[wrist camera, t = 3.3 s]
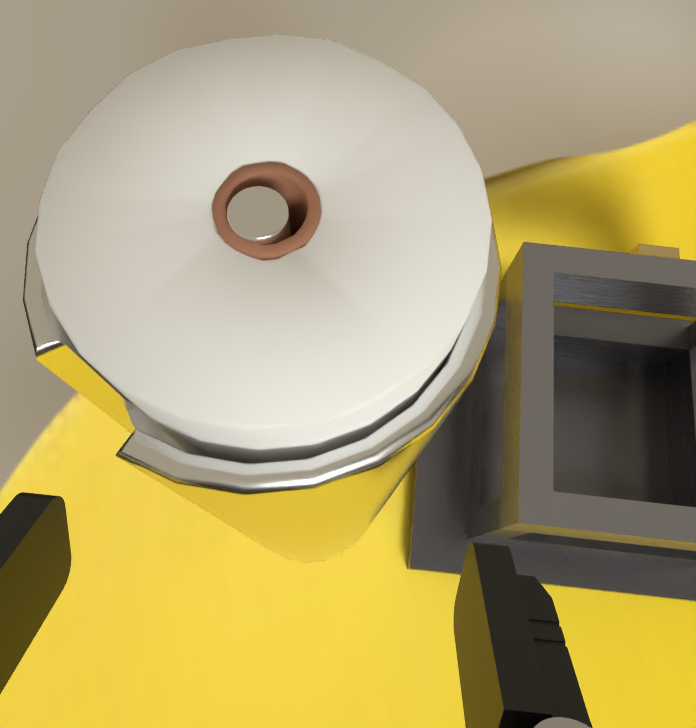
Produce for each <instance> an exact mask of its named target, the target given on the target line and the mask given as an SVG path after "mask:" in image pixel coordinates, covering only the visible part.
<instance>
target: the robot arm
mask: <svg viewBox="0 0 696 728" xmlns="http://www.w3.org/2000/svg"><path fill="white" fill-rule="evenodd" d="M70 567H71V549H70V541H69V533H68V525H67V517H66V508H65V503H64V500H63V498H62V497H60V496H52V495H43V494H34V493H24V492H22V493H19V494H18V495H16V496H15V497H14V498H13V500H12V501H11V502H10V503H9V504H8V506H7V507H6V508H5V509H4V510H3V512H2V513H1V514H0V694H1V692H2V690H3V689H4V687H5V685H6V684H7V682H8V680H9V679H10V677H11V675H12V674H13V672H14V670H15V669H16V667H17V665H18V664H19V662H20V660H21V659H22V657H23V655H24V654H25V652H26V650H27V649H28V647H29V645H30V644H31V642H32V640H33V639H34V637H35V635H36V634H37V632H38V630H39V629H40V627H41V625H42V624H43V622H44V620H45V619H46V617H47V615H48V614H49V612H50V610H51V609H52V607H53V605H54V604H55V602H56V600H57V599H58V597H59V595H60V594H61V592H62V590H63V588H64V586H65V584H66V582H67V579H68V576H69V572H70ZM454 635H455V643H456V651H457V659H458V668H459V676H460V684H461V692H462V700H463V708H464V717H465V725H466V728H593V727H592V725H591V722H590V719H589V716H588V713H587V710H586V707H585V703H584V700H583V697H582V694H581V690H580V687H579V684H578V681H577V677H576V674H575V671H574V668H573V665H572V661H571V658H570V655H569V652H568V648H567V647H566V646H565V639H564V635H563V632H562V629H561V627H559V619H558V616H557V613H556V610H555V606H554V603H553V600H552V598H551V596H550V595H549V594H548V593H547V591H546V590H545V589H544V587H543V586H542V585H541V584H540V582H539V581H538V580H537V579H536V577H535V576H526V575H517V573H516V569H515V565H514V561H513V558H512V554H511V550H510V548H509V547H508V546H503V545H493V544H484V543H475V542H470V543H469V545H468V547H467V551H466V556H465V560H464V564H463V569H462V573H461V577H460V582H459V586H458V591H457V595H456V600H455V607H454Z"/></svg>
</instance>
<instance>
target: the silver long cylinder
mask: <svg viewBox="0 0 696 728" xmlns="http://www.w3.org/2000/svg"><path fill="white" fill-rule="evenodd" d="M500 278H501V262H500V257H499V251H498V246H497V241H496V235H495V230H494V225H493V220H492V214H491V212H490V207H489V202H488V197H487V192H486V187H485V183H484V178H483V173H482V169H481V167H480V166H479V164H478V162H477V160H476V158H475V156H474V154H473V152H472V150H471V148H470V146H469V144H468V142H467V141H466V138H465V137H464V135H463V133H462V131H461V129H460V127H459V125H458V124H457V123H456V122H455V121H454V120H453V119H452V118H451V117H450V116H449V114H448V113H447V112H446V111H445V110H444V109H443V108H442V107H441V106H440V105H439V104H438V102H437V101H436V100H435V99H434V98H433V97H432V96H431V95H430V94H429V93H428V92H427V90H426V89H424V88H423V87H421V86H420V85H418V84H416V83H415V82H413V81H412V80H410V79H408V78H407V77H405V76H403V75H402V74H400V73H399V72H397V71H396V70H394V69H392V68H391V67H389V66H388V65H385V64H384V63H383V62H381V61H378V60H376V59H374V58H372V57H369V56H367V55H365V54H363V53H361V52H358V51H356V50H354V49H352V48H349V47H347V46H345V45H342V44H340V43H338V42H336V41H333V40H325V39H317V38H308V37H300V36H291V35H283V34H280V35H269V36H258V37H247V38H236V39H227V40H222V41H217V42H213V43H208V44H203V45H198V46H194V47H188V48H183V49H178V50H175V51H174V52H171V53H170V54H167V55H166V56H164V57H162V58H160V59H158V60H156V61H154V62H152V63H150V64H148V65H146V66H144V67H142V68H140V69H138V70H136V71H134V72H132V73H130V74H129V75H128V76H126V77H125V78H124V79H123V80H122V81H121V82H120V83H119V84H118V85H117V86H116V87H115V88H114V89H113V90H112V91H110V92H109V93H108V94H107V96H105V97H104V98H103V99H102V100H101V101H100V102H99V103H98V104H97V105H96V106H95V107H94V108H92V109H91V110H90V111H89V113H88V114H87V115H86V116H85V118H84V119H83V120H82V121H81V123H80V124H79V125H78V126H77V128H76V129H75V130H74V131H73V133H72V134H71V135H70V136H69V138H68V139H67V140H66V141H65V143H64V144H63V145H62V146H61V148H60V149H59V150H58V152H57V154H56V157H55V159H54V162H53V165H52V168H51V170H50V173H49V176H48V179H47V181H46V184H45V187H44V189H43V192H42V195H41V198H40V200H39V211H38V216H37V219H36V222H35V224H34V227H33V230H32V232H31V235H30V238H29V240H28V243H27V253H26V266H25V279H24V294H23V302H24V307H25V311H26V316H27V320H28V324H29V329H30V333H31V337H32V341H33V346H34V350H35V354H36V358H37V360H38V361H39V362H41V363H42V364H43V365H44V366H46V367H47V368H48V369H49V370H51V371H52V372H53V373H55V374H56V375H57V376H58V377H60V378H61V379H62V380H64V381H65V382H66V383H67V384H69V385H70V386H71V387H73V388H74V389H75V390H76V391H78V392H79V393H80V394H82V395H83V396H84V397H85V398H87V399H88V400H89V401H91V402H92V403H93V404H94V405H96V406H97V407H98V408H100V409H101V410H102V411H103V412H105V413H106V414H107V415H109V416H110V417H111V418H112V419H114V420H115V421H116V422H118V423H119V424H120V425H121V426H123V427H124V428H125V429H127V430H128V431H129V432H130V433H132V434H131V435H130V436H129V438H128V439H127V440H126V442H125V443H124V444H123V446H122V447H121V448H120V450H119V451H118V452H117V453H116V456H117V457H119V458H120V459H122V460H124V461H125V462H127V463H128V464H130V465H132V466H133V467H135V468H137V469H138V470H140V471H141V472H143V473H145V474H146V475H148V476H150V477H151V478H153V479H155V480H156V481H158V482H159V483H161V484H163V485H164V486H166V487H168V488H169V489H171V490H172V491H174V492H176V493H177V494H179V495H181V496H182V497H184V498H185V499H187V500H189V501H190V502H192V503H194V504H195V505H197V506H199V507H200V508H202V509H203V510H205V511H207V512H208V513H210V514H212V515H213V516H215V517H216V518H218V519H220V520H221V521H223V522H225V523H226V524H228V525H229V526H231V527H233V528H234V529H236V530H238V531H239V532H241V533H243V534H244V535H246V536H247V537H249V538H251V539H252V540H254V541H256V542H257V543H259V544H260V545H262V546H264V547H265V548H267V549H269V550H270V551H272V552H274V553H276V554H278V555H280V556H282V557H284V558H286V559H288V560H294V561H300V562H305V563H307V562H318V561H325V560H328V559H330V558H333V557H335V556H338V555H341V554H342V553H343V552H345V551H346V550H348V549H349V548H350V547H352V546H353V545H354V544H356V542H357V541H358V540H359V539H360V537H361V536H362V535H363V534H364V532H365V531H366V530H367V528H368V527H369V526H370V524H371V523H372V521H373V520H374V519H375V517H376V516H377V514H378V513H379V512H380V510H381V509H382V507H383V506H384V505H385V503H386V502H387V500H388V499H389V498H390V496H391V495H392V493H393V492H394V490H395V489H396V488H397V486H398V485H399V483H400V482H401V481H402V479H403V478H404V476H405V475H406V474H407V472H408V471H409V469H410V468H411V467H412V465H413V464H414V462H415V461H416V460H417V458H418V457H419V455H420V454H421V452H422V451H423V450H424V448H425V447H426V445H427V444H428V443H429V441H430V440H431V438H432V437H433V436H434V434H435V433H436V431H437V430H438V429H439V427H440V426H441V424H442V423H443V422H444V420H445V419H446V417H447V416H448V414H449V413H450V412H451V410H452V409H453V407H454V406H455V405H456V403H457V402H458V400H459V399H460V398H461V396H462V395H463V393H464V392H465V391H466V389H467V388H468V386H469V385H470V383H471V382H472V381H473V379H474V376H475V374H476V372H477V369H478V367H479V364H480V362H481V360H482V357H483V355H484V352H485V350H486V347H487V345H488V343H489V340H490V338H491V335H492V333H493V331H494V328H495V326H496V318H497V308H498V298H499V288H500Z"/></svg>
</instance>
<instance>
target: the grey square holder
mask: <svg viewBox="0 0 696 728" xmlns="http://www.w3.org/2000/svg"><path fill="white" fill-rule="evenodd" d="M554 302H563V303H572V304H581V305H590V306H599V307H609V308H618V309H627V310H636V311H645V312H654V313H663V314H672V315H681V316H690V317H696V261H693V260H684V259H680V255H679V248H673V247H664V246H655V245H645V244H638V246H637V247H636V248H635V249H634V250H633V251H632V252H631V253H630V254H629V253H620V252H611V251H602V250H593V249H584V248H575V247H566V246H557V245H548V244H539V243H529V242H523V244H522V246H521V247H520V249H519V251H518V253H517V254H516V256H515V258H514V260H513V261H512V263H511V265H510V267H509V268H508V270H507V272H506V274H505V275H504V277H503V279H502V281H501V282H500V288H499V298H498V308H497V318H496V326H495V328H494V331H493V333H492V335H491V338H490V340H489V343H488V345H487V347H486V350H485V352H484V355H483V357H482V360H481V362H480V364H479V367H478V369H477V372H476V374H475V376H474V379H473V381H472V382H471V383H470V385H469V386H468V388H467V389H466V391H465V392H464V393H463V395H462V396H461V398H460V399H459V400H458V402H457V403H456V405H455V406H454V407H453V409H452V410H451V412H450V413H449V414H448V416H447V417H446V419H445V420H444V422H443V423H442V424H441V426H440V427H439V429H438V430H437V431H436V433H435V434H434V436H433V437H432V438H431V440H430V441H429V443H428V444H427V445H426V447H425V448H424V450H423V451H422V452H421V454H420V455H419V457H418V458H417V460H416V461H415V469H414V483H413V497H412V510H411V524H410V538H409V551H408V565H407V569H413V570H422V571H430V572H439V573H448V574H457V575H461V573H462V569H463V564H464V560H465V556H466V551H467V547H468V545H469V543H470V542H475V543H484V544H493V545H503V546H508V547H509V548H510V550H511V554H512V558H513V561H514V565H515V569H516V573H517V575H526V576H535V577H536V579H537V580H538V581H539V582H540V584H545V585H554V586H563V587H572V588H581V589H590V590H598V591H607V592H616V593H625V594H634V595H643V596H651V597H660V598H669V599H678V600H687V601H696V321H686V320H677V319H668V318H659V317H650V316H641V315H632V314H623V313H614V312H605V311H596V310H587V309H578V308H569V307H560V306H554Z"/></svg>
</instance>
